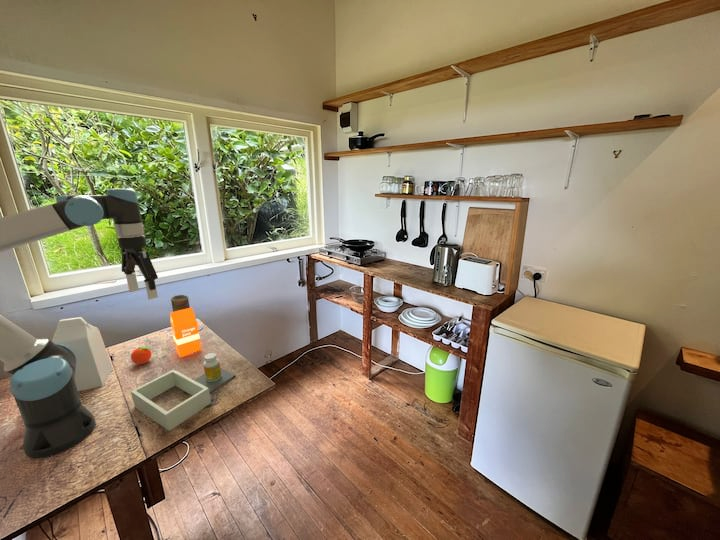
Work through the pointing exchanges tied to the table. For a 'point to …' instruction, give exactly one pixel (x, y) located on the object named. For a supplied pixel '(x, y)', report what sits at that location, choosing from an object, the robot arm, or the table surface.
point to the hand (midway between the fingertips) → (143, 294)
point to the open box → (178, 412)
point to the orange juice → (185, 332)
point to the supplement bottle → (212, 367)
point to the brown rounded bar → (180, 302)
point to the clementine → (141, 355)
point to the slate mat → (216, 384)
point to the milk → (85, 352)
